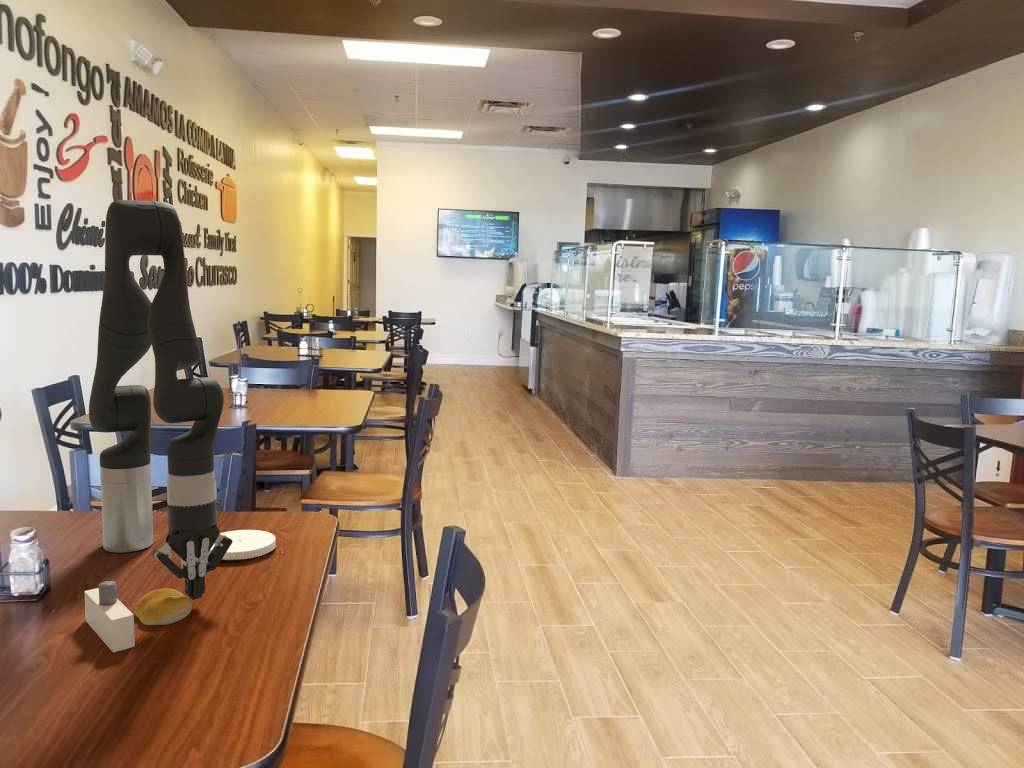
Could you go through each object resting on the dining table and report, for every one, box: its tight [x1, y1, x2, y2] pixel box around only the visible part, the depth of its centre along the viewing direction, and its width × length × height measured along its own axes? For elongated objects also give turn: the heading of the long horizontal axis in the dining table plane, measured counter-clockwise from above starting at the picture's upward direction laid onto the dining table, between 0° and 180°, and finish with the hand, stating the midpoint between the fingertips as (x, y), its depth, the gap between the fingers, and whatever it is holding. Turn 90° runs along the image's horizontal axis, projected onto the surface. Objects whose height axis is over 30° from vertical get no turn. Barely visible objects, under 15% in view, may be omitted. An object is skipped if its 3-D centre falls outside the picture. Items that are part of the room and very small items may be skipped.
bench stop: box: [83, 580, 136, 653], centre depth 118 cm, size 14×3×8 cm, turn 44°
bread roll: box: [134, 587, 193, 626], centre depth 125 cm, size 8×9×4 cm
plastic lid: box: [208, 529, 277, 561], centre depth 156 cm, size 14×14×2 cm
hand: (195, 597), depth 128 cm, fingers closed
